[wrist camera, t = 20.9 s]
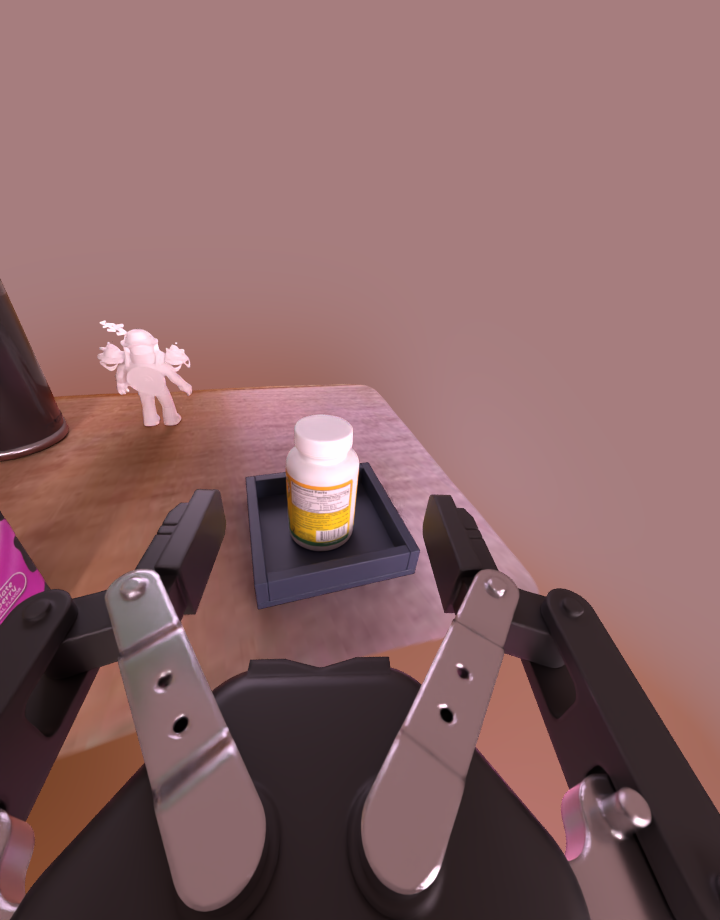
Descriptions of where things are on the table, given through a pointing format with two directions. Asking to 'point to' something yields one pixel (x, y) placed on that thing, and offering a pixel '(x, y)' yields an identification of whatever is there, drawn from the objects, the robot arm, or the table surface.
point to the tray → (320, 572)
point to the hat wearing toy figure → (146, 371)
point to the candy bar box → (16, 572)
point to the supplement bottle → (321, 482)
